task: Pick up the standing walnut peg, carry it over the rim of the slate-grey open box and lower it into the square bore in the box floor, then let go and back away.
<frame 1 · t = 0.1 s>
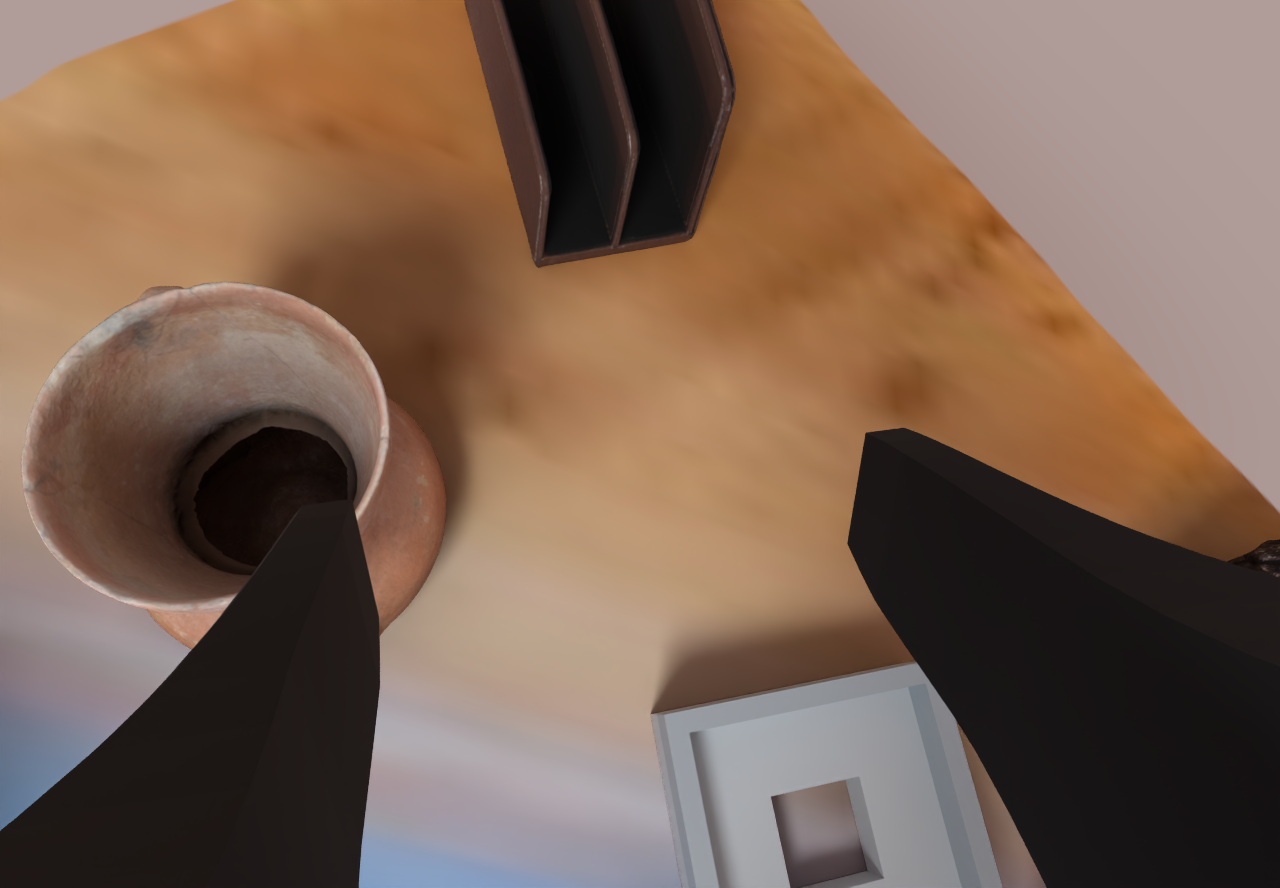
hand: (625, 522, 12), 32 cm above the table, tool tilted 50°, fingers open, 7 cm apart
ceramic jug: (301, 514, 42), on the table
letter holder: (574, 123, 52), on the table
pine cone: (1190, 678, 47), on the table
slate box: (812, 831, 41), on the table
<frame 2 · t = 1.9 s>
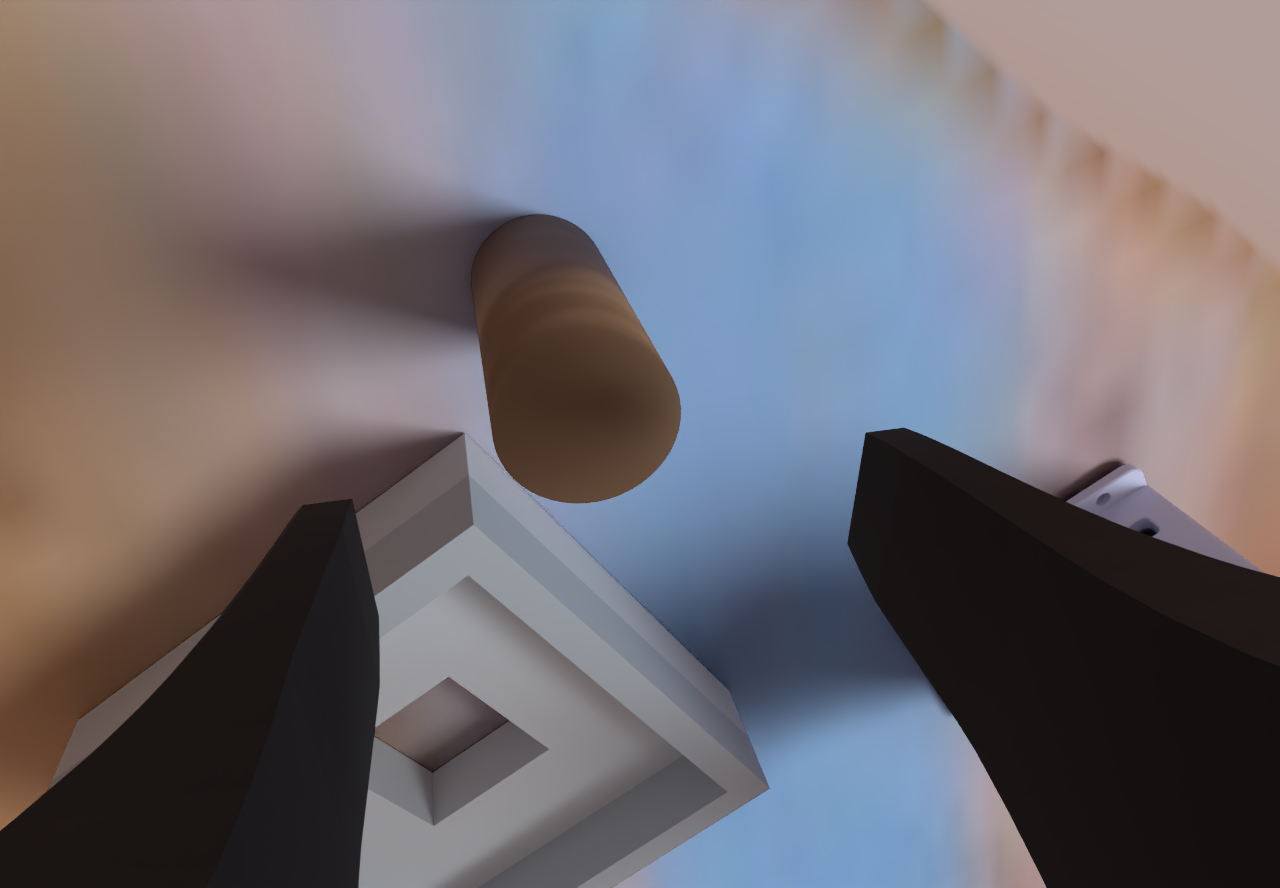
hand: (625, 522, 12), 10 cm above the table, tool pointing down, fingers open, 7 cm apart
walnut peg: (539, 281, 20), on the table
slate box: (439, 703, 26), on the table
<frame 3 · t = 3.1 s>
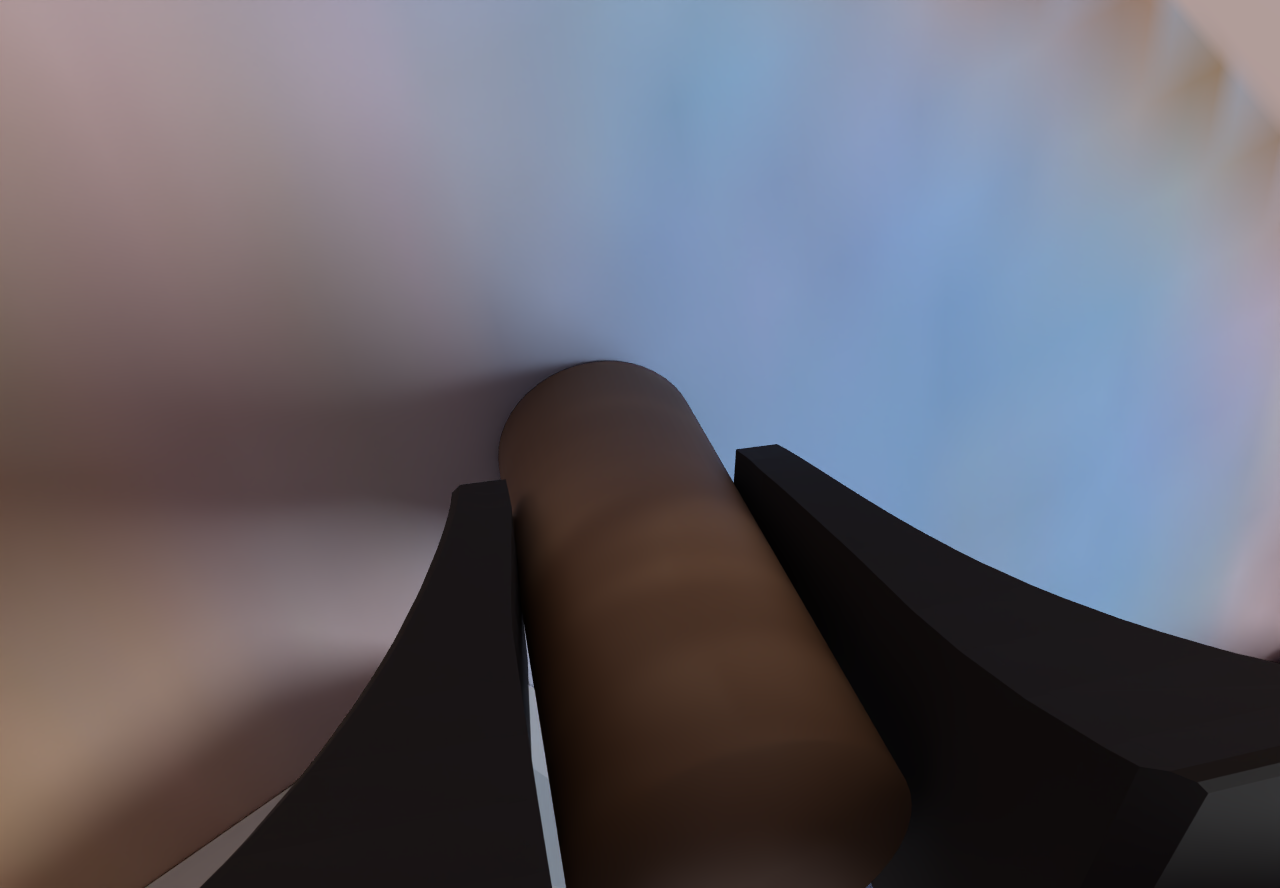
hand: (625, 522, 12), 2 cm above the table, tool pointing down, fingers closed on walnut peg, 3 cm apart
walnut peg: (599, 451, 13), on the table, touching gripper
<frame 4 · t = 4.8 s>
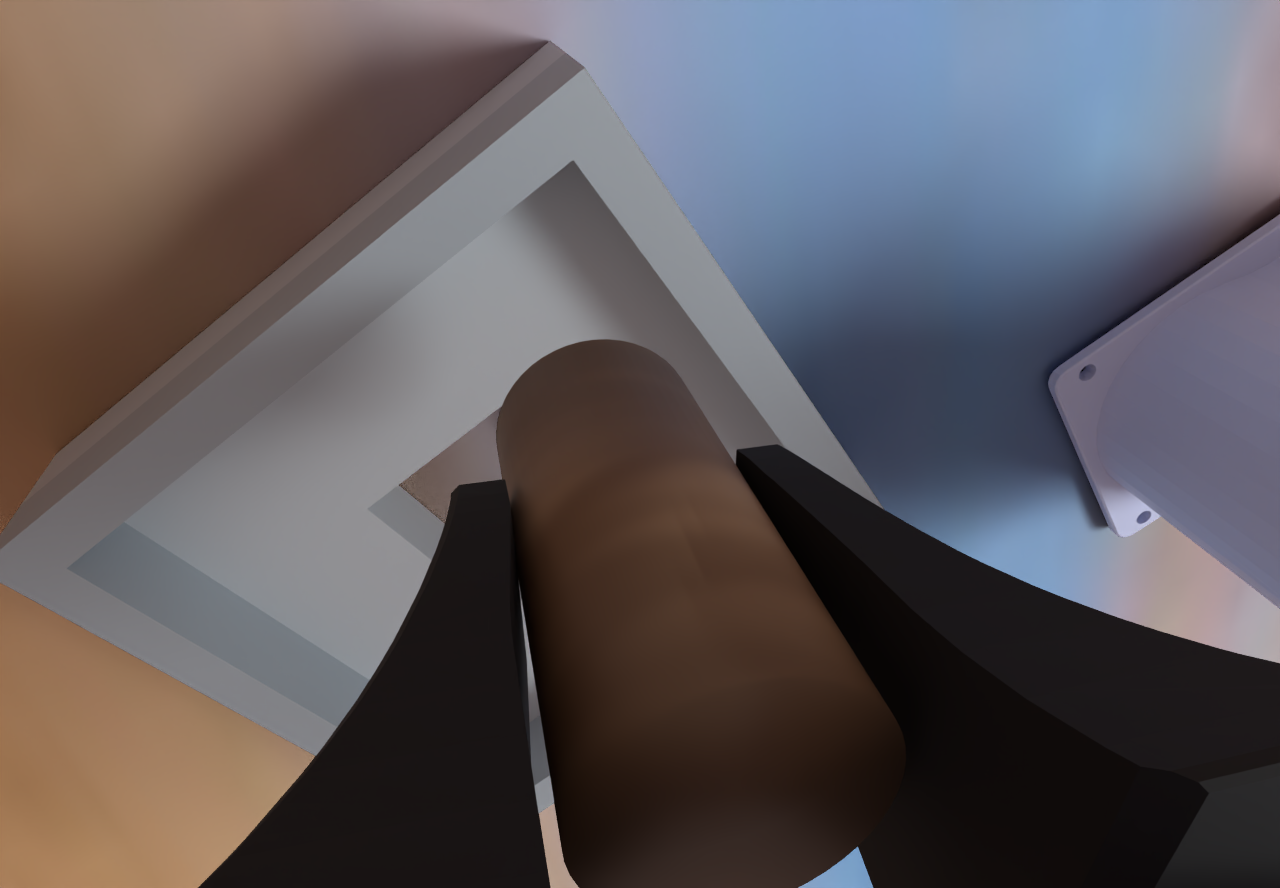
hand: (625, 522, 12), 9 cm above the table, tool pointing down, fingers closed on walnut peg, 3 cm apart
walnut peg: (597, 431, 13), point 7 cm above the table, touching gripper
slate box: (504, 464, 21), on the table
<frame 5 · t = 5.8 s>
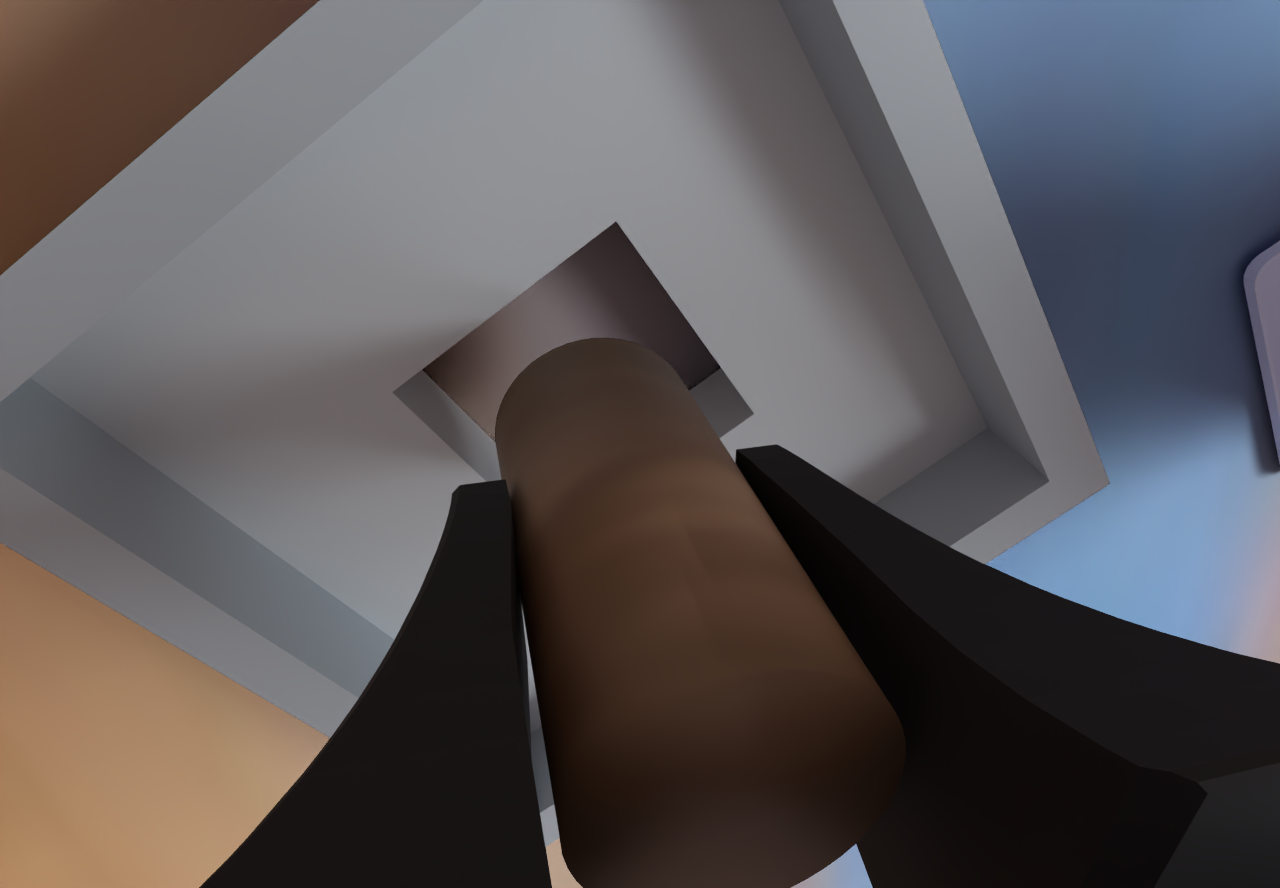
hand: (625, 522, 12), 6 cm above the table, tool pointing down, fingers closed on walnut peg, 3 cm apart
walnut peg: (595, 430, 13), point 3 cm above the table, touching gripper
slate box: (567, 355, 16), on the table
when the fingers open (3 cm above the table, at t = 6.6 s): walnut peg stays where it is, resting in slate box.
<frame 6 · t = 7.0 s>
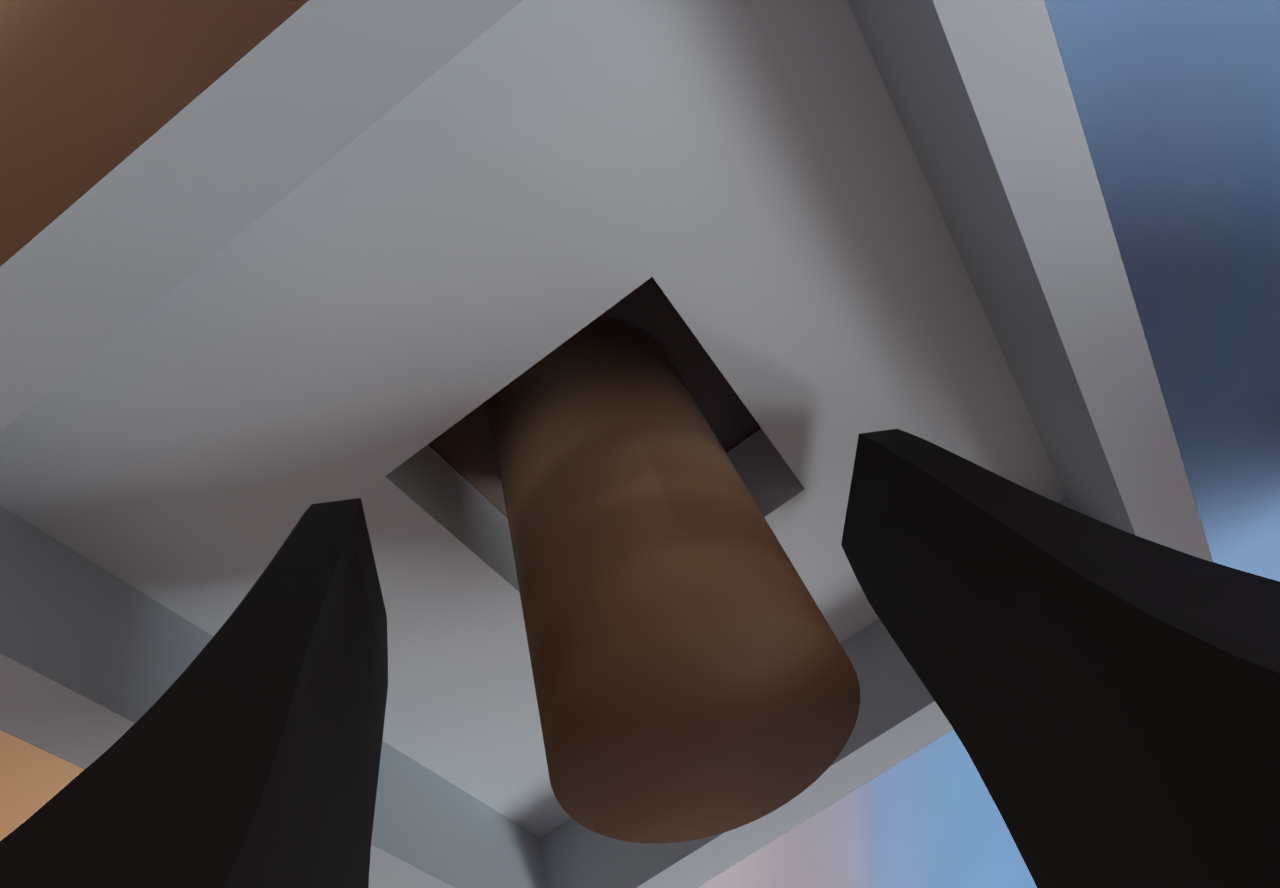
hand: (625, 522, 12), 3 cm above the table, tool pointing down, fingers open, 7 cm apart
walnut peg: (586, 405, 14), resting in slate box
slate box: (587, 418, 14), on the table
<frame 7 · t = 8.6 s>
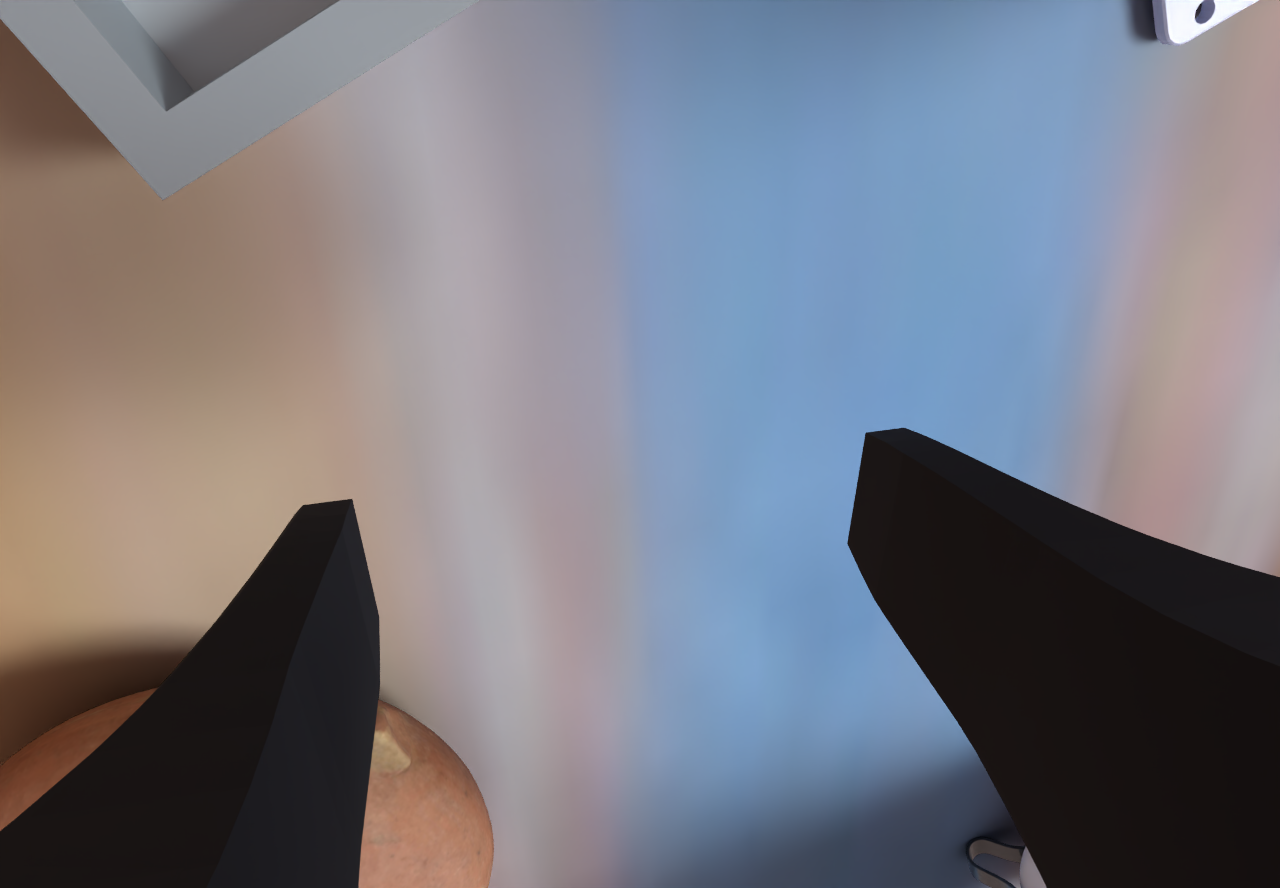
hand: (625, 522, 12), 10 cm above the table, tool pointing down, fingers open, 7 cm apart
ceramic jug: (247, 796, 27), on the table
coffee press: (1089, 803, 40), on the table
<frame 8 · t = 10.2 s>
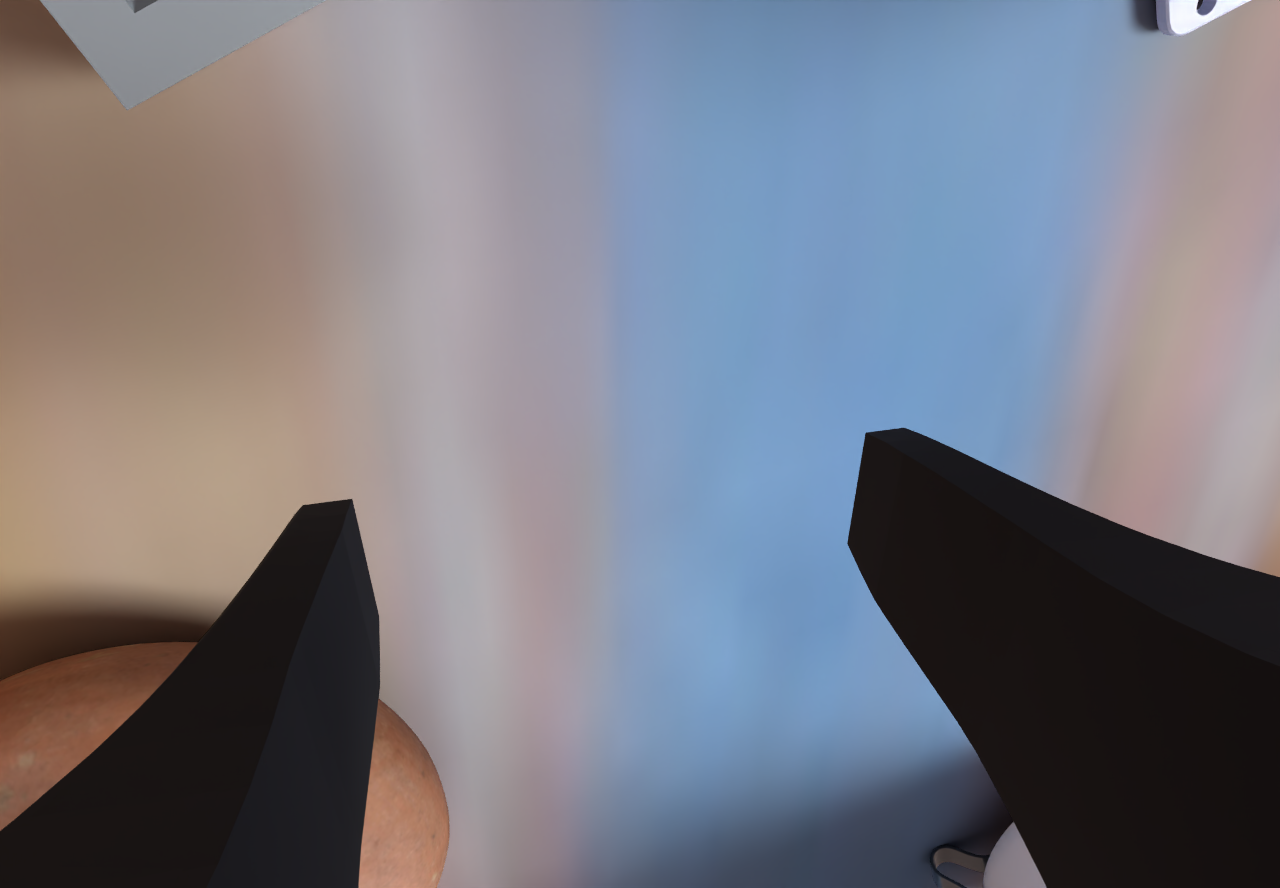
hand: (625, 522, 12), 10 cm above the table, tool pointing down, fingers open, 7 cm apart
ceramic jug: (192, 772, 26), on the table
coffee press: (1054, 815, 40), on the table
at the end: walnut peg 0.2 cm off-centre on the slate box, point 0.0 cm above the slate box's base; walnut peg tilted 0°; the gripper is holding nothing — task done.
